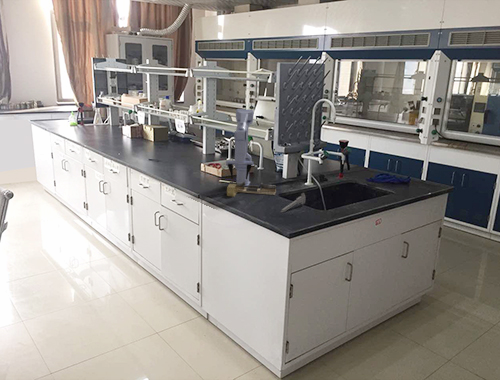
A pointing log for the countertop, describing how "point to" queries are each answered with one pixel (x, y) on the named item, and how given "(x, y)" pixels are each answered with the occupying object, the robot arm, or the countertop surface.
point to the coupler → (231, 189)
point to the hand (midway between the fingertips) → (239, 178)
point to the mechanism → (256, 188)
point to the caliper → (295, 202)
